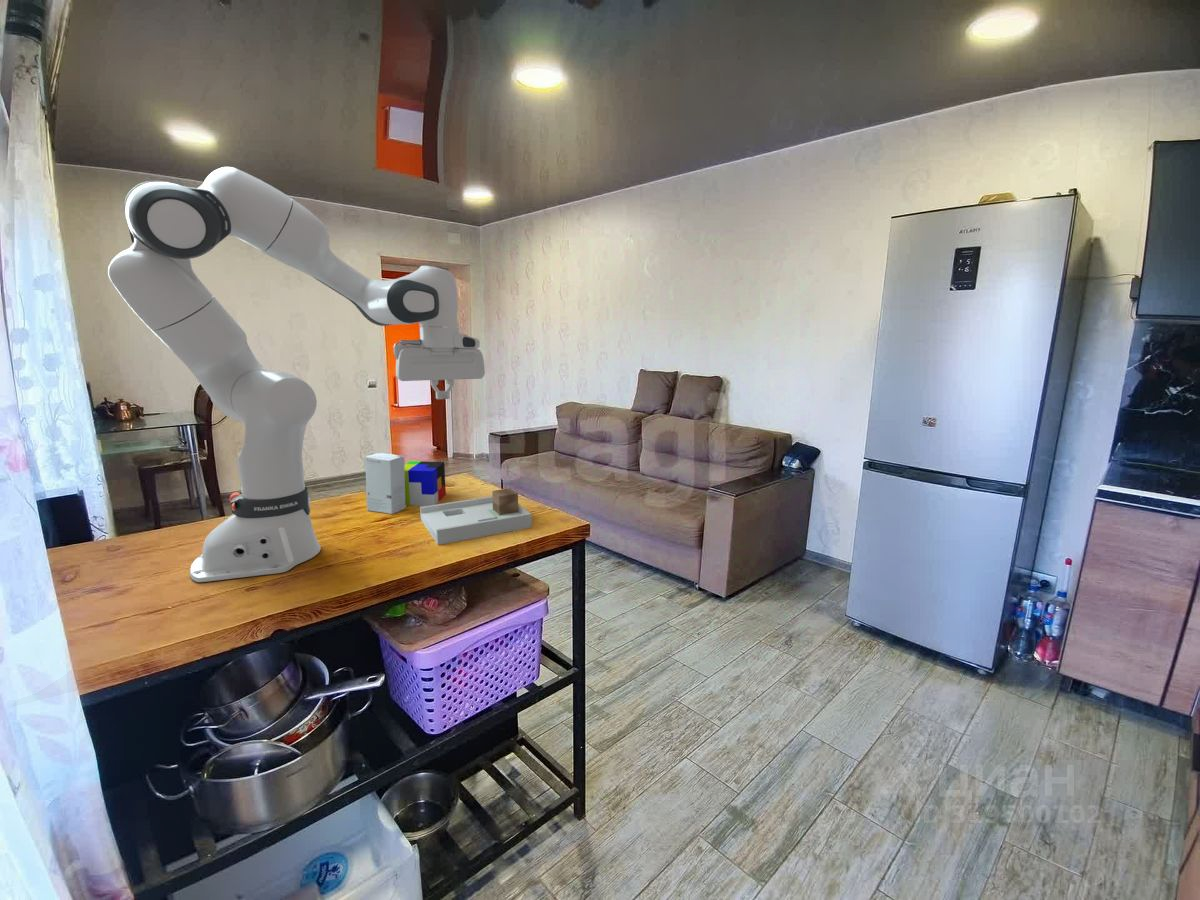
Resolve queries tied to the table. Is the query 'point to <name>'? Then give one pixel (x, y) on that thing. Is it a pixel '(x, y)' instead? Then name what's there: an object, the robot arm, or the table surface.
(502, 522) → the platform
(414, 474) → the puzzle toy
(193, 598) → the table surface
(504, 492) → the walnut block
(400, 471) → the skincare box
